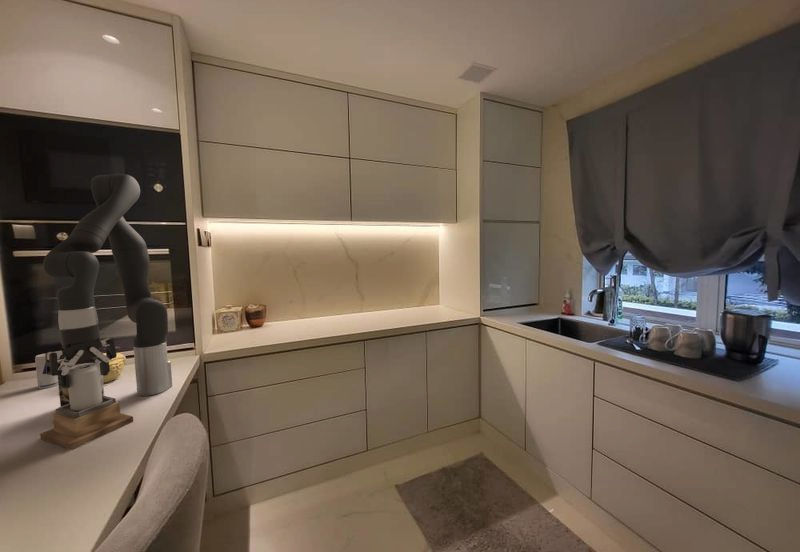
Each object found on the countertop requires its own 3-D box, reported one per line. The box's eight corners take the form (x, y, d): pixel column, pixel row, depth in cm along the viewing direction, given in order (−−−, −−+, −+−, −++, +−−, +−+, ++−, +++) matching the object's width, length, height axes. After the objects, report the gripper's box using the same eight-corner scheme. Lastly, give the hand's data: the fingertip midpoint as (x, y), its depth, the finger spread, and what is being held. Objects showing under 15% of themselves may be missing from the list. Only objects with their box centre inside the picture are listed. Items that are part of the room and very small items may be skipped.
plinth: (103, 413, 98) (101, 389, 98) (133, 421, 94) (131, 396, 93) (40, 438, 85) (37, 411, 84) (71, 449, 80) (68, 420, 80)
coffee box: (59, 413, 98) (54, 363, 97) (69, 404, 104) (64, 357, 102) (98, 406, 102) (94, 358, 101) (106, 398, 108) (101, 352, 107)
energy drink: (61, 384, 119) (58, 353, 118) (40, 390, 115) (36, 358, 114) (57, 381, 122) (54, 351, 121) (36, 386, 118) (33, 355, 117)
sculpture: (106, 386, 117) (103, 358, 116) (74, 386, 118) (71, 358, 117) (132, 374, 129) (130, 348, 128) (103, 374, 129) (101, 348, 128)
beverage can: (82, 414, 85) (77, 371, 84) (64, 411, 87) (59, 369, 85) (108, 402, 91) (104, 362, 90) (91, 400, 93) (87, 361, 92)
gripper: (101, 317, 94) (107, 370, 96) (34, 330, 81) (42, 390, 83) (118, 319, 92) (124, 372, 94) (52, 332, 79) (60, 394, 80)
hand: (86, 381), depth 88 cm, fingers open, 8 cm apart
